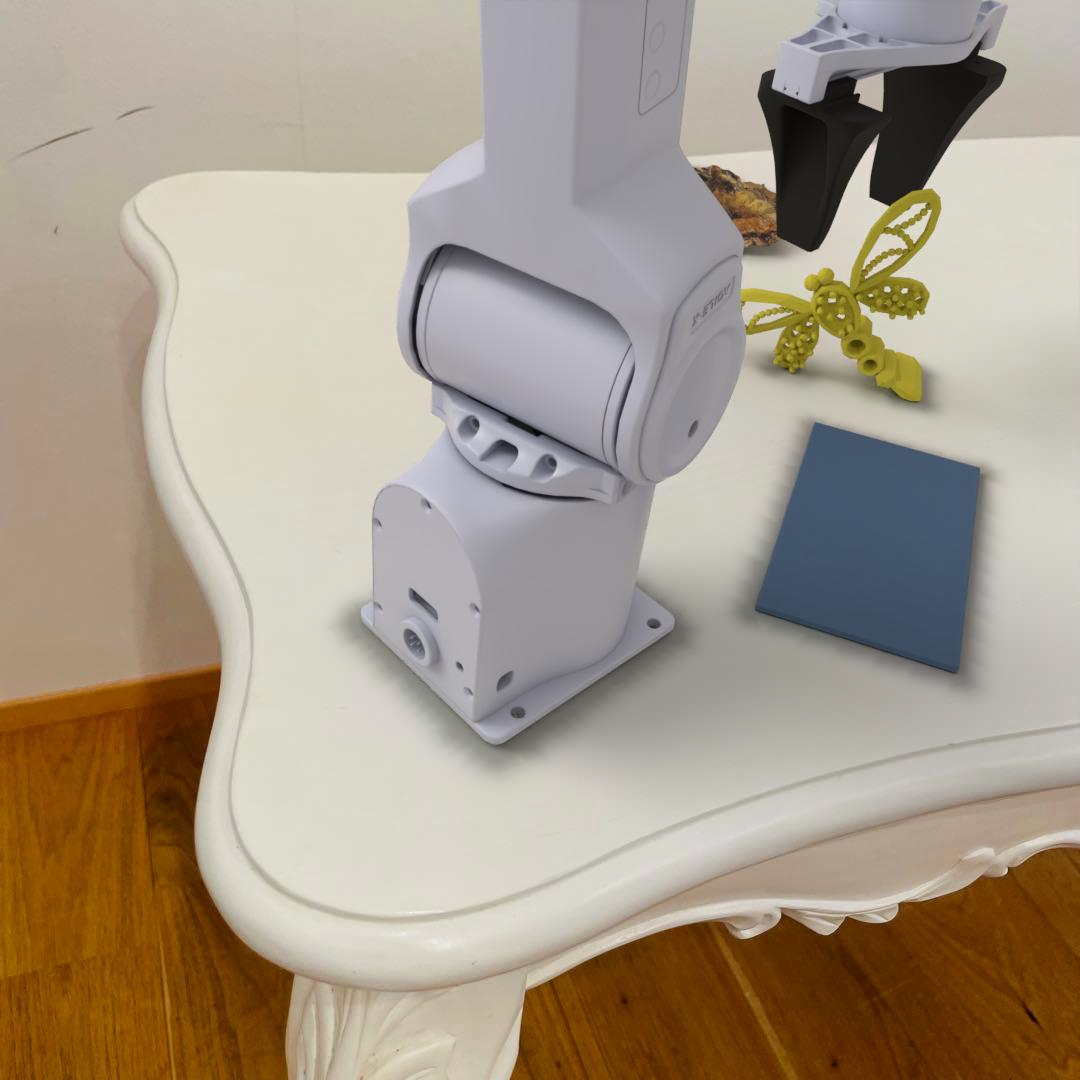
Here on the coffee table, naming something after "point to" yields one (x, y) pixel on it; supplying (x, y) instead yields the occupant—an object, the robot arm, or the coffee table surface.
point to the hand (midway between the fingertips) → (844, 222)
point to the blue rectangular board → (876, 546)
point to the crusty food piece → (744, 205)
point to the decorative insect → (857, 305)
